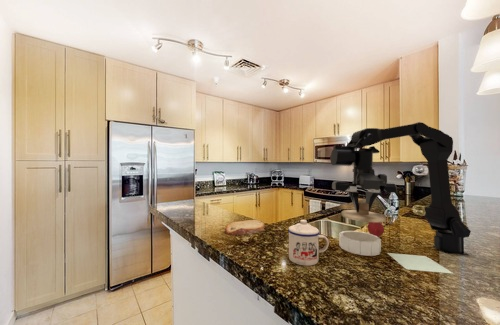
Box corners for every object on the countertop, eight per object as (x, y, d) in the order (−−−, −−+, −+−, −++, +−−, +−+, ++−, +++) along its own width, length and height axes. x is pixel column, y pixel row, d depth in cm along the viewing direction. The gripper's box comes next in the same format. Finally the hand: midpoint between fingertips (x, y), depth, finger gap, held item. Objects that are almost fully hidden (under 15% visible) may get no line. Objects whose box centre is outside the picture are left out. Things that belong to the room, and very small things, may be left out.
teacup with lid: (290, 266, 57) (290, 223, 57) (285, 252, 66) (286, 216, 66) (334, 267, 56) (334, 225, 57) (323, 254, 66) (323, 217, 66)
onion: (387, 240, 80) (387, 219, 80) (372, 240, 80) (372, 219, 80) (378, 235, 85) (378, 216, 86) (364, 235, 86) (364, 216, 86)
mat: (425, 257, 64) (425, 256, 64) (453, 275, 53) (453, 273, 53) (386, 254, 66) (386, 252, 66) (406, 270, 55) (406, 269, 55)
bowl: (371, 244, 75) (371, 232, 75) (387, 258, 63) (387, 243, 63) (336, 241, 77) (336, 229, 77) (345, 255, 65) (345, 240, 65)
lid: (375, 214, 74) (375, 201, 75) (393, 223, 62) (393, 207, 62) (337, 212, 77) (337, 199, 77) (347, 220, 64) (348, 205, 64)
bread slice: (263, 224, 101) (263, 217, 101) (268, 236, 83) (268, 227, 83) (227, 224, 100) (227, 216, 100) (223, 236, 82) (223, 227, 82)
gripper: (340, 164, 63) (339, 215, 63) (407, 166, 60) (407, 219, 60) (332, 165, 74) (331, 208, 74) (388, 167, 71) (388, 212, 71)
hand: (362, 212), depth 69 cm, fingers closed on lid, 3 cm apart
